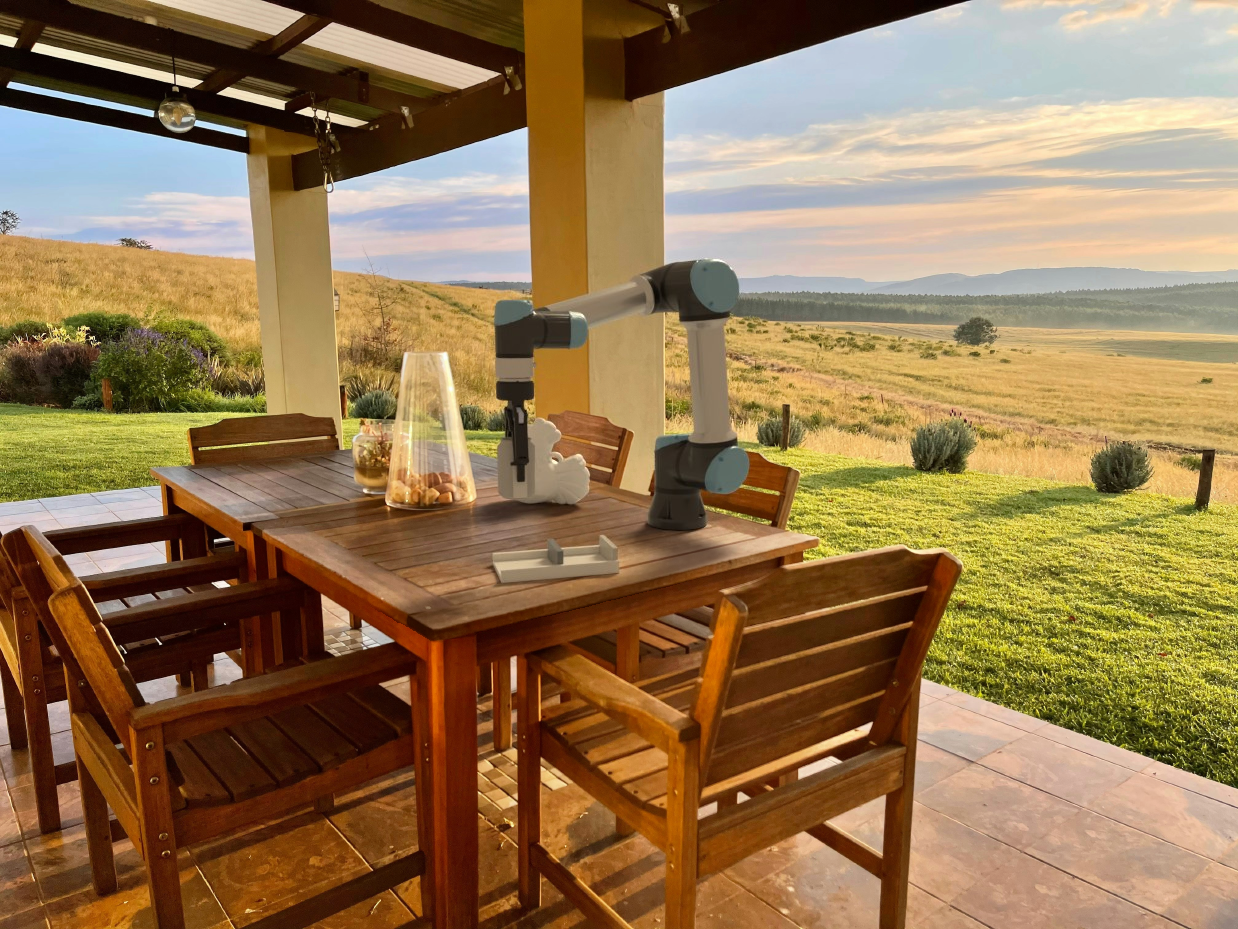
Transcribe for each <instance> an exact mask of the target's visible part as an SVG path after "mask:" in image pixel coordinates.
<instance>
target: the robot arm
mask: <svg viewBox="0 0 1238 929" xmlns="http://www.w3.org/2000/svg"><path fill="white" fill-rule="evenodd" d="M738 279H739V278H738V275H737V274H736V272H735V271H734V269H733V268H732V267H731V266H730V265H729V263H727V262H725V261H724V260H721V259H717V258H700V259H693V260H686V261H685V260H684V261H675V262H670V263H667V264H664V265H661V266H659V267H657V268H653V269H651V270H647V271H646V272H642V273H640V274H636V275H633V276H632V277H631V278H630V279H629V281H628V282H624V283H621V284H618V285H615V286H610V287H606V288H604V289H600V290H597V291H593V292H588V293H585V294H583V295H578V296H576V297H573V298H569V299H565V300H562V301H559V302H555V303H551V304H548V305H547V304H546V305H545V306H542V307H538V308H534V304H533V301H531V300H525V299H500V300H498V301H497V302H496V303H495V305H494V315H493V317H494V319H493V326H494V345H495V346H494V347H495V348H494V349H495V354H494V355H495V357H494V369H495V370H494V372H495V378H497V379H498V380H497V381H496V382H495V398H496V399H497V400H498V401H506V402H507V405H506V406H504V408H503V411H504V412H503V413H504V437H512V445H513V458H514V461H513V462H511V463H510V466H513V498H527V463H529V453H528V428H527V424H528V417H529V414H528V410H527V409H525V405H524V402H525V401H532V400H534V399H535V382H534V381H533V380H532V379H534V377H535V373H534V372H535V370H534V369H535V368H537V362H535V360H534V357H535V354H534V353H535V352H534V351H535V350H539V349H540V350H541V349H542V350H543V349H544V350H545V349H546V350H547V349H549V350H552V349H553V350H562V349H563V350H564V349H565V350H571V349H579V348H582V347H583V346H584V345H585V343H586V342H587V339H588V336H589V330H590V329H592V328H597V327H600V326H603V325H606V324H609V323H613V322H615V321H616V322H617V321H619V320H621V319H622V320H623V319H626V318H629V317H632V316H635V315H640V316H642V317H646V316H650V315H654V314H659V313H678V318H679V319H678V320H679V321H678V322H679V324H681V325H682V327H684V328H685V330H686V338H687V339H686V340H687V341H686V342H687V352H688V366H689V367H688V368H689V381H690V393H691V408H692V420H693V431H692V432H689V433H688V432H687V433H686V432H685V433H673V434H665V435H664V434H663V435H660V436H659V435H658V437H656V439H655V441H654V442H655V444H654V450H653V453H654V494H653V497H652V500H651V504H650V506H649V508H648V509H649V510H648V512H647V524H648V525H649V526H651V527H652V528H657V529H662V530H672V531H676V530H677V531H686V530H697V529H701V528H703V527H706V525H707V523H708V522H707V521H708V515H707V511H706V508H705V505H704V502H703V498H702V495H701V490H702V491H705V492H709V493H711V494H721V495H728V494H732V493H734V492H735V491H737V490H738V489H739V488H741V486H742V485H743V482H745V481H746V479H747V477H748V474H749V469H750V459H749V458H750V457H749V455H748V453H747V452H746V451H745V449H744V448H742V447H741V446H739V440H738V434H737V432H736V431H734V430H733V429H732V428H731V417H730V416H731V415H730V402H729V400H730V398H729V385H728V370H727V352H726V338H725V326H726V323H728V321H730V319H731V311H730V310H731V309H732V308H734V306H735V305H736V304H737V303H736V301H737V300H738V299H739V296H740V284H739V280H738Z"/></svg>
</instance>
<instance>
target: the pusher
mask: <svg viewBox="0 0 1238 929" xmlns="http://www.w3.org/2000/svg"><path fill="white" fill-rule="evenodd" d="M546 541H547V543H546V544H547V546H546V547H547V548H546V549H548V558H549V560H550V561H551V562H552V564H553V565H558V564H563V550H562V549H561V548H562V547H561V546H560V545H559V544H558V543H557V541H556V540H555V539H554V538H552V537H551V538H547V540H546Z"/></svg>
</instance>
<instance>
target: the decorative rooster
mask: <svg viewBox="0 0 1238 929" xmlns="http://www.w3.org/2000/svg"><path fill="white" fill-rule="evenodd" d="M527 428H528V437H529V438H531V442H532V443H533V444H534V445H535V488H536V492H535V493H534V494H533V495H532V496H531V497H530V498H527V499H518V500H517V501H518V502H521V503H524V504H529V505H530V504H532V505H533V504H538V503H545V502H549V501H554V502H555V503H558V504H559V505H565V504H568V505H575V504H576V503H578V502H579V501H581V499H584V498H585V497H586V495H588V493H589V492H590V486H589V484H590V478H591V477H590V476H591V474H590V471H589V469H588V467H586V466H587V462H586V460H585V459H584V457H583V455H582V454H580V453H577V454H573V455H570V456H568V457H566V458H564V457H563V455H562V454H561V453H560V452H557V451H552V450H553V447H554V445H555V444H556V443H558V442H559V441H561V438H562V433H561V431H560V430H559V429H557V426H556V425H555V423H553V422H552V421H550V420H546V419H544V418H543V417H536V418H535V419H534V421H533V423H532V424H529V423H527ZM553 457H555V458H557V460H558V461H556V460H554V459H552V458H553Z"/></svg>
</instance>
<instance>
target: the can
mask: <svg viewBox="0 0 1238 929" xmlns="http://www.w3.org/2000/svg"><path fill="white" fill-rule="evenodd" d="M499 440H500V442H499V443H498V445H496V451H497V452H496V454H497V457H496V458H497V459H496V460H497V494H499V496H501V497H502V498H503V499H506V500H516V501H518V499H527V498H530V497H531V496H532V495H533V494H534V493H535V492H536V488H535V445H534V444H533V443H532V442H531V438H529V437H528V453H529V463H527V498H513V466H510V463H511V462H513V461H514V458H513V445H512V437H505V436H503V437H501V438H499Z"/></svg>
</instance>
